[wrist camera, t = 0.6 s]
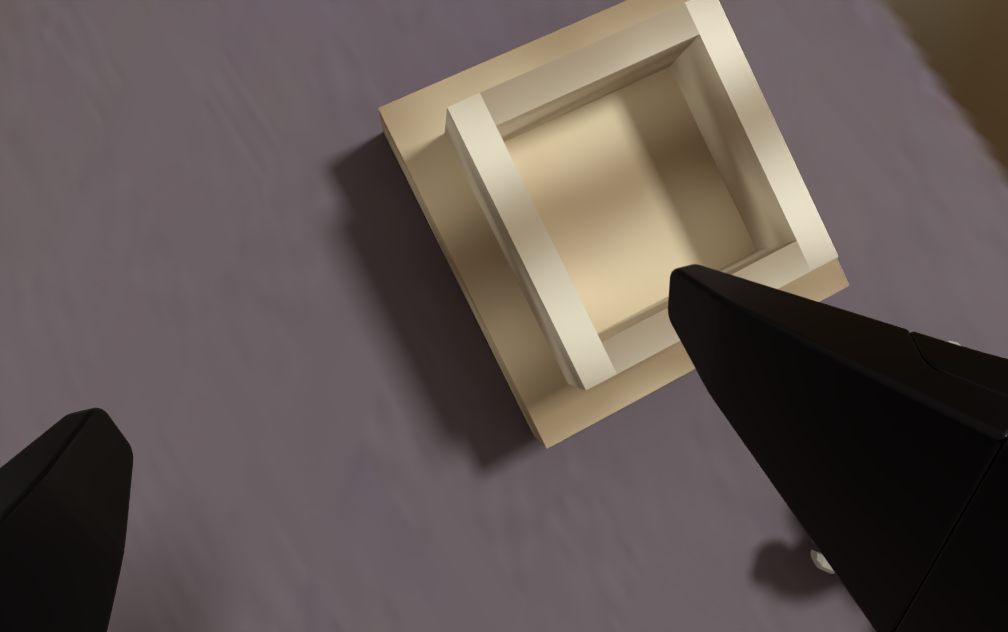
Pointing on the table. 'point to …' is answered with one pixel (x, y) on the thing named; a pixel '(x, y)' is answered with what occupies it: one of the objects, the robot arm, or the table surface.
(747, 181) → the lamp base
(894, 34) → the table surface
